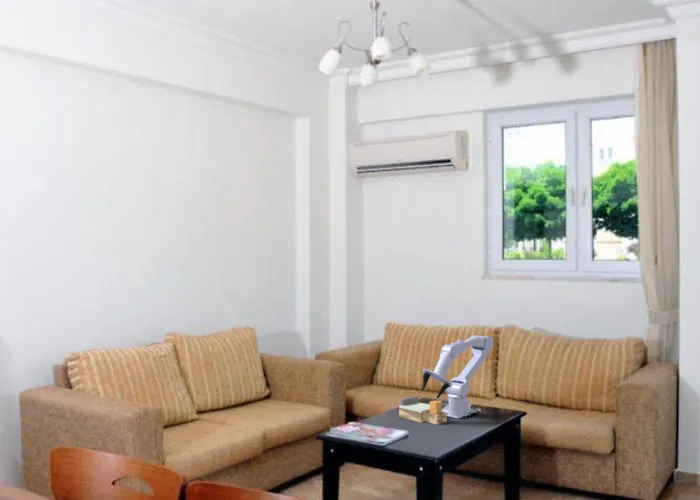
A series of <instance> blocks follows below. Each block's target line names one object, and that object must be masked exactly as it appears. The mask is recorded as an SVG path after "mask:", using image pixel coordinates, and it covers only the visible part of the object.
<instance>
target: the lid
mask: <svg viewBox="0 0 700 500" xmlns="http://www.w3.org/2000/svg"><path fill="white" fill-rule="evenodd" d="M398 407H399V408H403V409H407V410H411V411H415V412H419V413H423V412H427V411H430V403H429V404H428V403H423V402H419V397H418V396H416V395H415V396H410V397H405V398H400V405H398ZM399 408H398V409H399Z"/></svg>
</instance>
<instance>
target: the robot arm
mask: <svg viewBox="0 0 700 500" xmlns="http://www.w3.org/2000/svg"><path fill="white" fill-rule="evenodd" d="M468 348H471V354H472V355H473V356H472V357H471V359H470V360H469V362H468V363H467V364H466V365H465V367H464V368H463V370H462V371H461V372H460V373H459V375H458V376H456V377H452V378H451V380H449V379H447V378H446V376H447V373H448V372H449V369H450V367H451V365H452V362H453V360H454V359H456V358H458V356H459V355H460V354H463V353H465V352H466V351H467V349H468ZM493 349H494V340H493V337H492V336H489V335H488V336H485V335H476V334H473V335H471V336H470V337H469V338H467V339H465V340H462V339H457V340H456V341H455V342H451V343H450V344H445V345H443V346H441V349H440V354H439V359H438V361H437V364H436V365H435V367H434V370H433V371H432V370H430V369H428V368H426V367H425V368H423V369H422V372H421V374H423V375H422V388H421V391H424V390H425V388H426V385H427V384H428V381H429V380H430V378H432V379H434V380H436V381H438V382H439V383H441V384H442V385H441V387H440V388H439V389H440V390H439V392H438V394H437V396H436V399H439V398H440V397H441V396H442V394H443V393H444V392H445V394H446V395H447V396H446V397H448V413H447V417H449V418H450V417H451V418H455V419H460V418H464V417H463V415H464V414H468V413H469V414H470V401H469V398H468V397H467V396H468V393H469V390H470V389H471V385H470V382H471V380H472V379H473V377H474V376H475V374H476V373H477V372H478V370H479V369H480V368H481V366H482V365H483V364H484V362H485V360H486V359H487V356H489V354H490V353H491V350H493Z"/></svg>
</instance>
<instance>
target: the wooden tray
mask: <svg viewBox="0 0 700 500" xmlns="http://www.w3.org/2000/svg"><path fill="white" fill-rule="evenodd" d="M398 409H399V410H398V417H399V418H403V419H406V420H409V421H415V422H418V423H424V422H425V423H430V424H434V425H440V424H443V423H448V416H447V414H448V413H447V412H444V411H442V414H437V415H436V414H431V413H430V411H427V412H423V413H419V412H415V411H411V410H407V409H403V408H398Z"/></svg>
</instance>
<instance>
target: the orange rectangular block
mask: <svg viewBox="0 0 700 500" xmlns="http://www.w3.org/2000/svg"><path fill="white" fill-rule="evenodd" d="M429 405H430V413H431V414H436V415H437V414H442V412H443V401H439V400H432V401H429Z"/></svg>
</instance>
